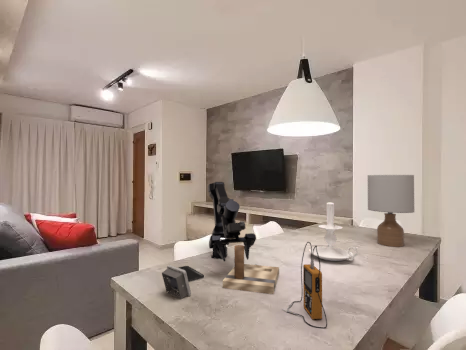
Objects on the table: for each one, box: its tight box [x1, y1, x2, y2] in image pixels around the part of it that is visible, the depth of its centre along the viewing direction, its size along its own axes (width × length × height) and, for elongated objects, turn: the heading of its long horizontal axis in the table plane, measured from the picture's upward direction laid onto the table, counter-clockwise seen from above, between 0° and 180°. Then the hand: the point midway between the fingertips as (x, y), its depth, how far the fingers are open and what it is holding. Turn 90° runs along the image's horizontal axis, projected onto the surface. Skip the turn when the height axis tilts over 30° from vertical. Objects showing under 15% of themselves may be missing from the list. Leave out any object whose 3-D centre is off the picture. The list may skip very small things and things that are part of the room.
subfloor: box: [222, 263, 280, 295], centre depth 97 cm, size 18×20×2 cm
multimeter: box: [281, 241, 328, 329], centre depth 73 cm, size 15×10×20 cm
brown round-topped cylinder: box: [233, 244, 245, 279], centre depth 93 cm, size 4×4×14 cm
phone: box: [177, 265, 205, 283], centre depth 103 cm, size 8×1×15 cm
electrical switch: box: [161, 264, 192, 300], centre depth 84 cm, size 9×5×9 cm, turn 51°
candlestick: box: [308, 201, 359, 262], centre depth 123 cm, size 21×25×28 cm
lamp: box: [367, 174, 415, 248], centre depth 154 cm, size 24×24×42 cm
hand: (236, 260), depth 97 cm, fingers open, 9 cm apart
